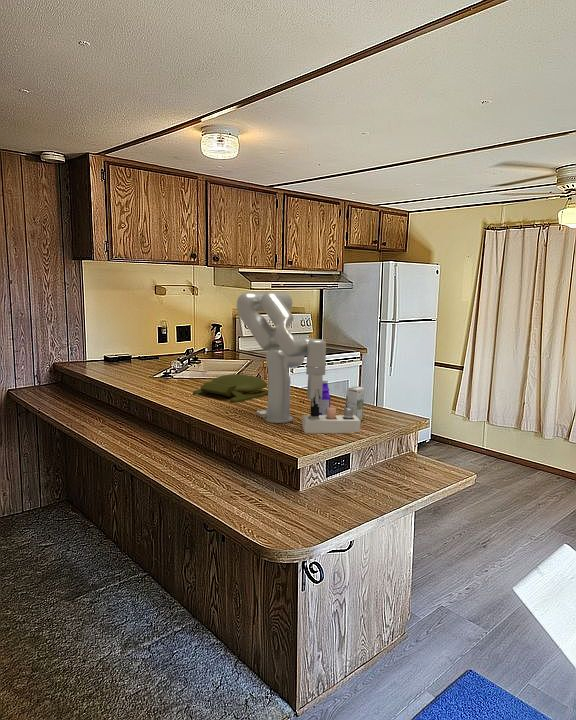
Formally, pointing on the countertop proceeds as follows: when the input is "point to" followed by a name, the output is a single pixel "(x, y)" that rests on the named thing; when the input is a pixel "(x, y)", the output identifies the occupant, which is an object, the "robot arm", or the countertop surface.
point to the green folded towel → (234, 387)
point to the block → (330, 424)
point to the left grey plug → (313, 417)
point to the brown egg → (331, 413)
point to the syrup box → (355, 400)
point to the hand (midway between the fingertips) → (314, 415)
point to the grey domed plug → (348, 413)
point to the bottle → (324, 399)
